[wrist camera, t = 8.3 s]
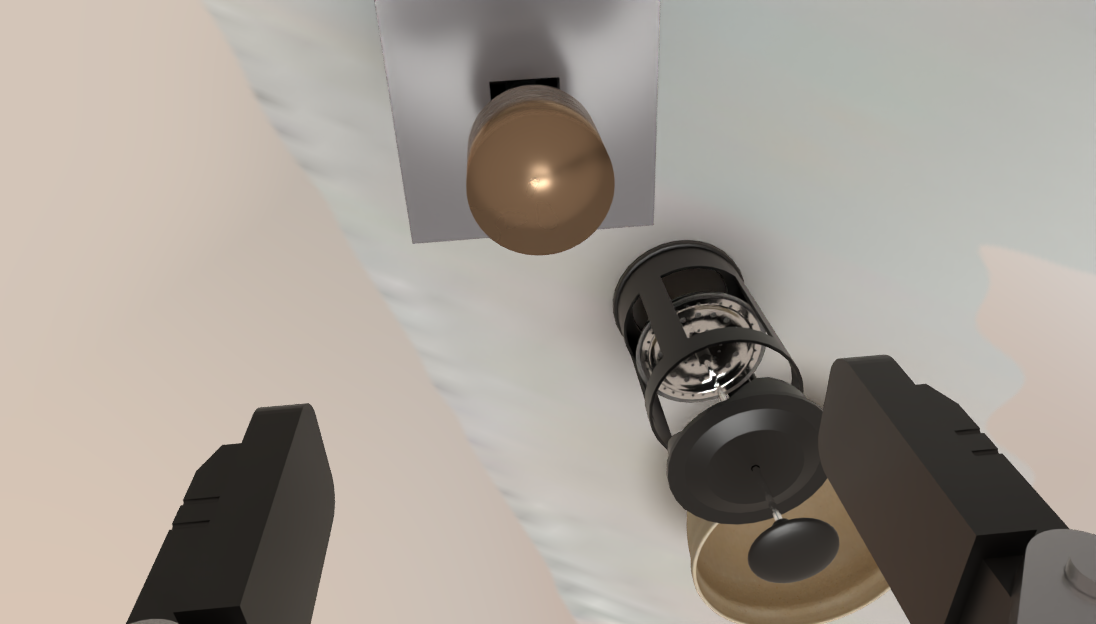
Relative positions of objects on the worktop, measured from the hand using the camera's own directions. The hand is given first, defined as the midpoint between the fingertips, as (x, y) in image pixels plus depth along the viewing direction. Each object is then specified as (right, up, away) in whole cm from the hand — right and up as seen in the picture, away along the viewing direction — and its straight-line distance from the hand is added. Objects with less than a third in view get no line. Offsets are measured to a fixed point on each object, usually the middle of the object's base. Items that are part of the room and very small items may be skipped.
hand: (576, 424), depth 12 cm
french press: (+9, +2, +42) cm, 43 cm away
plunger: (-3, +18, +29) cm, 34 cm away
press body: (-3, +18, +30) cm, 36 cm away
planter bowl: (+17, -10, +50) cm, 53 cm away
